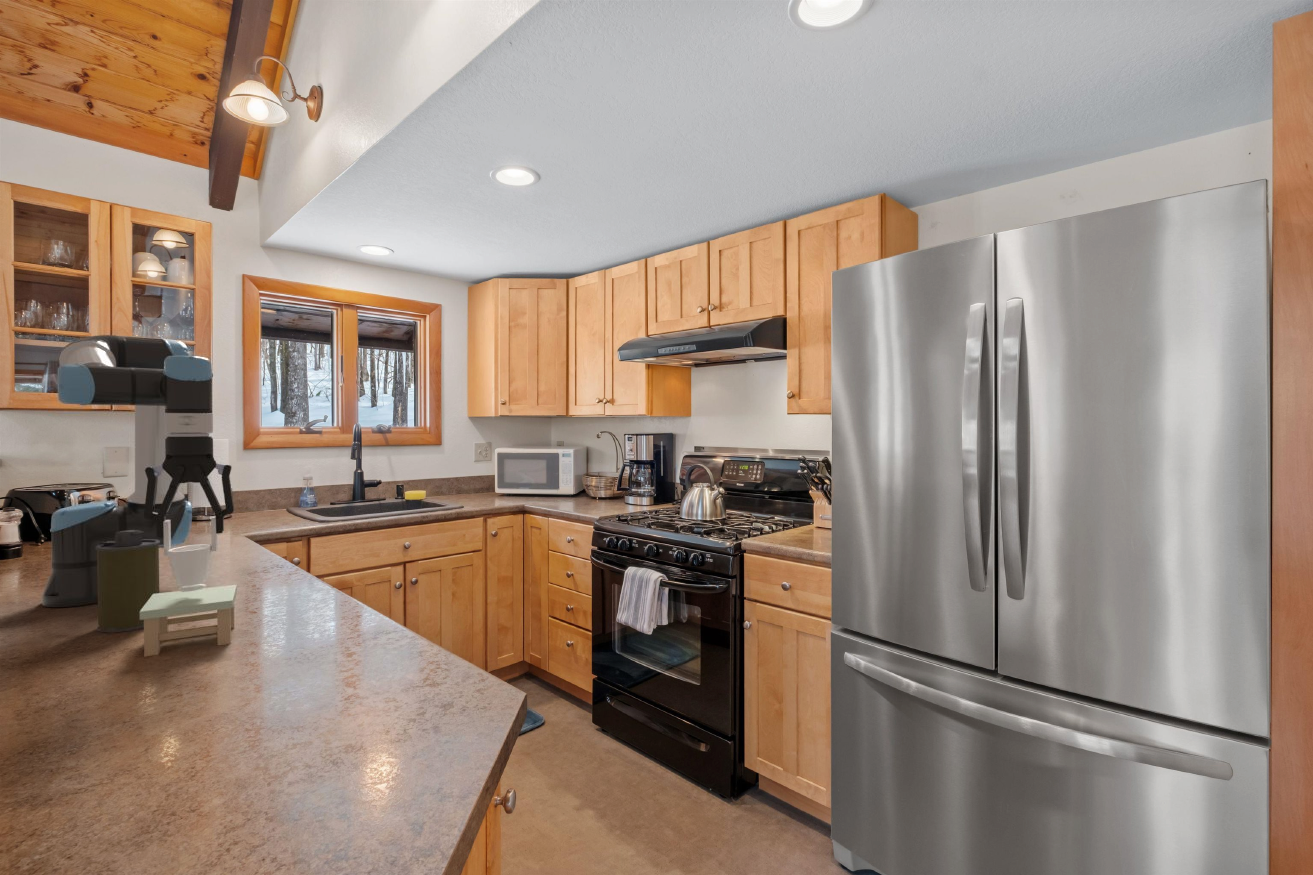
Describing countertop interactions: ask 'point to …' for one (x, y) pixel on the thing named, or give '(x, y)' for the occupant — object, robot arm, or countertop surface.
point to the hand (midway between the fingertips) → (191, 551)
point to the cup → (190, 566)
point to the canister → (126, 580)
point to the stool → (187, 603)
